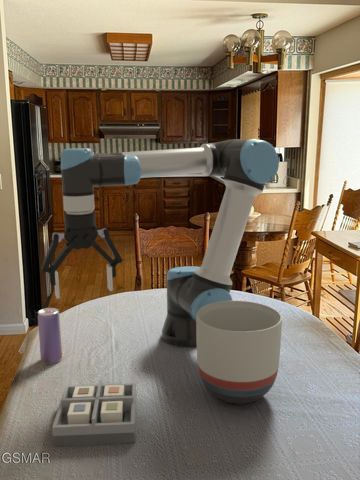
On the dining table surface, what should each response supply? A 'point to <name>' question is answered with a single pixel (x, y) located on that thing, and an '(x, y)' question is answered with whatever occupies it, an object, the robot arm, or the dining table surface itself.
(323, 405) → the dining table surface
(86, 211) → the robot arm
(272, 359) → the planter
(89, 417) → the key
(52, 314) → the beverage can
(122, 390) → the key
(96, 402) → the keypad
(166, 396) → the dining table surface
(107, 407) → the key
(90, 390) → the key
